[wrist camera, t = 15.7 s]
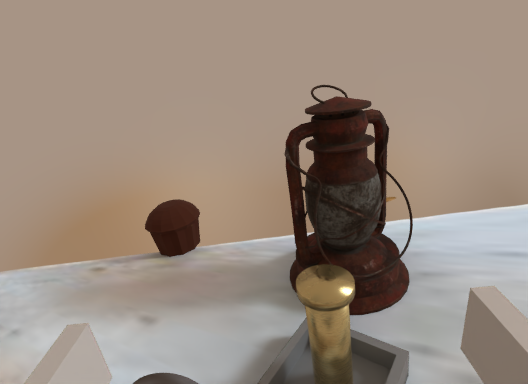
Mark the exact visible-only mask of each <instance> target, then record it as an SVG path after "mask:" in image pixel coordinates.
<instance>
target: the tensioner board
mask: <svg viewBox="0 0 528 384" xmlns="http://www.w3.org/2000/svg"><path fill="white" fill-rule="evenodd" d="M133 384H198V383H196V382H195V381H193V380H191V379H189V378H187V377H184V376H181V375H177V374H172V373H155V374H150V375H146V376H144V377H142V378H140V379H138V380H137V381H135V382H134V383H133Z"/></svg>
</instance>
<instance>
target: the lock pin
mask: <svg viewBox="0 0 528 384" xmlns="http://www.w3.org/2000/svg"><path fill="white" fill-rule="evenodd" d="M296 289H297V295H298V298H299V300H300V301H301V302H302V303H303V304H304V305H305V308H306V316H307V324H308V333H309V341H310V349H311V357H312V365H313V373H314V381H315V384H353V369H352V351H351V333H350V315H349V304H350V303H351V302H352V300H353V299H354V296H355V281H354V278H353V276H352V275H351V273H350V272H348V271H347V270H346V269H344V268H342V267H339V266H336V265H330V264H321V265H315V266H312V267H309V268H307V269H305V270H304V271H302V272H301V273H300V274H299V275H298V277H297V279H296Z"/></svg>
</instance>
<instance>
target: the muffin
mask: <svg viewBox="0 0 528 384" xmlns="http://www.w3.org/2000/svg"><path fill="white" fill-rule="evenodd" d="M199 215H200V212H199V209H197V208H196V207H195V206H194V205H193V204H191V203H190V202H187V201H184V200H170V201H167V202H164V203H162V204H160V205H158V206H157V207H156V208H155V209H154V210H153V211H152V212H151V213H150V214H149V216H148V218H147V221H146V224H145V229H146V230H147V231H149V232H150V233H151V235H152V237H153V239H154V241H155V243H156V245H157V247H158V249H159V251H160V253H161V254H162V255H167V256H169V257H171V256H176V255H183V254H185V253H187V252H189V251H191V250H193V249H195V248H196V246H197V245H198V244H199V242H200V235H199V221H198V217H199Z"/></svg>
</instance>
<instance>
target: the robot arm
mask: <svg viewBox="0 0 528 384" xmlns="http://www.w3.org/2000/svg"><path fill="white" fill-rule="evenodd" d="M461 350H462V351H463V353H464V354H465V356H466V357H467V359H468V360H469V362H470V363H471V365H472V366H473V368H474V369H475V371H476V372H477V374H478V375H479V377H480V378H481V380H482V381H483V383H484V384H528V319H527V318H526V317H525V316H524V315H523V314H522V313H521V312H520V311H519V310H518V309H517V308H516V307H515V306H514V305H513V304H512V303H511V302H510V301H509V300H508V299H507V298H506V297H505V296H504V295H503V294H502V293H501V292H500V291H499V290H498V289H497V288H496V287H495V286H488V287H477V288H470V294H469V300H468V306H467V312H466V318H465V324H464V330H463V336H462V343H461ZM111 379H112V375H111V373H110V370H109V368H108V366H107V364H106V361H105V359H104V357H103V355H102V352H101V350H100V348H99V346H98V344H97V341H96V339H95V337H94V335H93V332H92V330H91V328H90V326H89V323H84V324H73V325H67V326H66V328H65V329H64V330H63V332H62V333H61V334H60V336H59V337H58V338H57V340H56V341H55V343H54V344H53V345H52V347H51V348H50V349H49V351H48V352H47V353H46V355H45V356H44V357H43V359H42V360H41V361H40V363H39V364H38V365H37V367H36V368H35V369H34V371H33V372H32V373H31V375H30V376H29V378H28V379H27V380H26V382H25V383H24V384H109V383H110V381H111Z"/></svg>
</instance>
